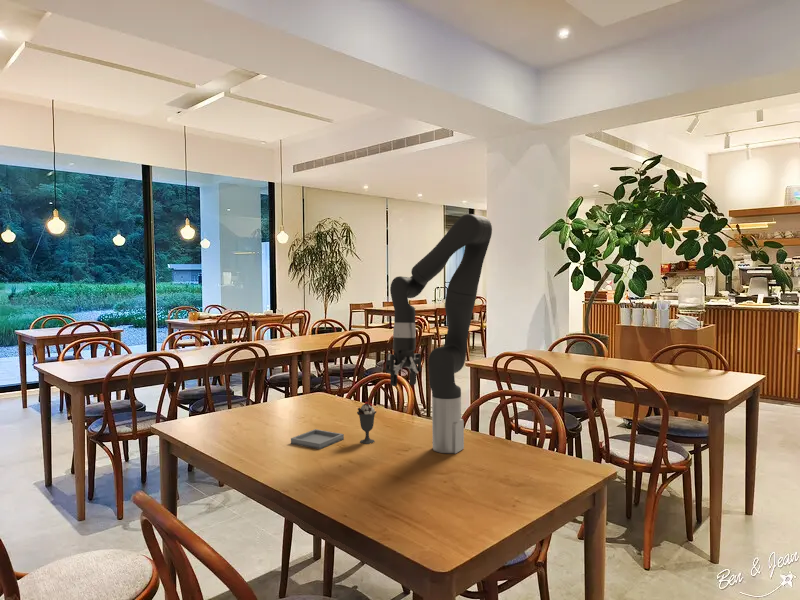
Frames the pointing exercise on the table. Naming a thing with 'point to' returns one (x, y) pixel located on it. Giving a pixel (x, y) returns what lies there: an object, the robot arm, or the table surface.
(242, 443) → the table surface
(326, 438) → the tray
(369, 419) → the sundae
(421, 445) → the table surface
